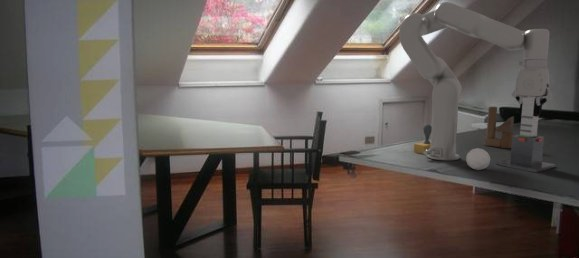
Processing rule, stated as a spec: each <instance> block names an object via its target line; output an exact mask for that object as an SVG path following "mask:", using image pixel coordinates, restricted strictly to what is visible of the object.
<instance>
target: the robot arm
mask: <svg viewBox="0 0 579 258" xmlns="http://www.w3.org/2000/svg"><path fill="white" fill-rule="evenodd" d="M447 28H448V29H452V30H454V31H456V32H458V33H461V34H463V35H466V36H469V37H471V38H476V39H480V40H482V41H486V42H487V43H490V44H493V45H495V46H498V47H500V48H502V49H504V50H507V51H511V52H513V51H520V50H521V51H522V50H523V54H522V61H519V63H518V65H519V66H521V67H522V68H519V70H518V73H517V77H516V80H515V87H514V90H513V91H512V93H511V96H512V97H513V98H514V99H515V100H516V101H517V102H518V104H519V115H520V116H522V104H523V97H536V105H535V108H534V116H535V117H537V116H539V117H540V116H541V114H542V113H543V112H542V109H543V106H544V105H545V104H546V103H547V102H548V101H550V100H552V99H553V98H554V95H553V93H552V91H551V89H550V84H551V83H550V81H551V80H550V72H549V68H547V65H548V56H549V55H548V54H549V47H550V46H549V44H550V31H549V29H546V28H533V29H528V30H520V29H518V28H517V27H514V26H511V25H508V24H505V23H503V22H501V21H498V20H495V19H492V18H490V17H488V16H486V15H484V14H481V13H480V12H477V11H473V10H471V9H469V8H465V7H463V6H460V5H458V4H455V3H452V2H451V1H450V2H449V1H443V2H440V3H439V4H438V5H437V6H436V8H434V10H432V11H429V12H426V13H424V14H422V13H420V12H419V13H418V12H412V13H409V14H408V15H407V16H405V17H404V19H403V20H402V22H401V24H400V27H399V29H398V31H399V32H398V37H399V42H400V45H401V47H402V49H403V50H404V52H405V53H406V55H407V57H408V58H409V59H410V61H411V62H412V64H413V65H414V67H415V68H416V70H417V71H418V73H419V75H420V76H421V77H422V78H423V79H424V80H428V82H429V83H430V84H431V85H432V87H433V89H432V92H431V95H432V96H431V101H432V103H431V104H432V105H431V106H432V107H431V108H432V109H431V110H432V111H431V127H432V129H431V134H430V142H431V146H430V147H429V150H424V151H423V153H424V154H423V155H424V156H426V157H427V158H428V159H432V160H438V161H457V160H459V159H460V155H459V154H457V153H456V151H457V150H456V149H457V132H458V116H459V115H458V113H459V97H460V96H461V94H462V92H463V91H462V90H463V89H462V88H463V86H462V85H461V82H460V81H459V79H458V78H457V76H456V75H455V73H454V71H452V70H451V68H450V67H449V65H448V64H447V63H446V61H445V60H444V59H443V58H441V57H440V56H437V55H435V53H434V51H433V50H432V49H431V48H430V46H429V45H428V43H427V42H426V41H425V39H424V36H427V35H429V34H433V33H434V32H438V31H441V30H444V29H447Z"/></svg>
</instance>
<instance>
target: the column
mask: <svg viewBox="0 0 579 258" xmlns="http://www.w3.org/2000/svg"><path fill="white" fill-rule="evenodd" d="M535 105H536V97H529V96H528V97H523V104H522V115H520V118H521V119H520V129H519V135H520V137H526V138H537V136H538V127H539V124H538V123H539V117H540V116H537V117H535V116H534V108H535Z"/></svg>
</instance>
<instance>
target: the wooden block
mask: <svg viewBox="0 0 579 258" xmlns="http://www.w3.org/2000/svg"><path fill="white" fill-rule="evenodd" d="M497 117H498V106H490V105H489V106H488V109H487V121H486V122H487V123H486V126H487V127H486V137H484V144H483V145H484V146H488V147H494V148H501V149H511V146H512V136H514V133H513V132H514V121H515V116H511V117H509V118H508V119H506V121H504V122H503V123H502V124H500V125H499V126H498V127H497ZM496 132H498V133H499V132H500V133H501V136H500V137H501V138H499V137H496Z"/></svg>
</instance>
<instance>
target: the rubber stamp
mask: <svg viewBox="0 0 579 258" xmlns="http://www.w3.org/2000/svg"><path fill="white" fill-rule="evenodd" d="M431 129H432V125H430V124H425V125H424V126H423V134H424V137H425V139H424V141H423V142H422V141H421V142H418V143H417V142H416V143H414V144H413V153H417V154H421V155H424V153H423V151H424V150H429V147H430V146H431V141H430V139H429V138H430V137H431Z"/></svg>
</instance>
